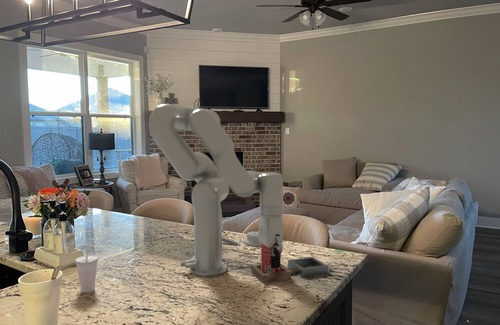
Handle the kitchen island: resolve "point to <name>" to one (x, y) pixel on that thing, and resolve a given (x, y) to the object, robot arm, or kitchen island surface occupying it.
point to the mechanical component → (252, 239)
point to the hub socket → (297, 264)
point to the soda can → (267, 260)
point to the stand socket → (270, 274)
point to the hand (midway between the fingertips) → (270, 263)
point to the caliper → (229, 241)
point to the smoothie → (87, 271)
